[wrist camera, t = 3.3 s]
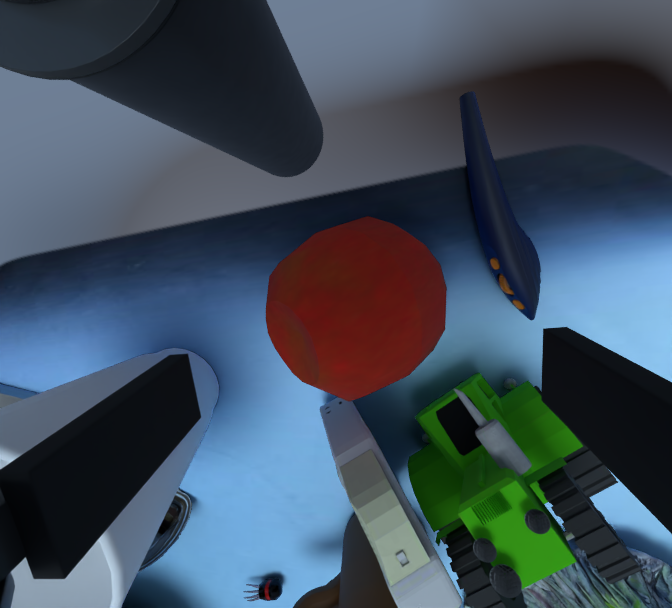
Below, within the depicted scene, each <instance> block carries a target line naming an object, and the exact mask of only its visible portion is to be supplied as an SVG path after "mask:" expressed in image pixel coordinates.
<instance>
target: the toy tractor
mask: <svg viewBox="0 0 672 608" xmlns="http://www.w3.org/2000/svg"><path fill="white" fill-rule="evenodd" d="M504 387H505V388H506V389H509V390H512V389H513V390H512V391H511V392H509V393H507V394H506V395H504V396H503V397H501V398H499V396H498V395H497V394H496V393H495V391H494V390H493V389H492V388H491V386H490V385H489V384H488V383H487V381H486V380H485V379H484V378H483V376H482V375H481V374H480V373H477V374H474V375H472V376H471V377H470V378H468V379H467V380H465V381H464V382H461V383H460V384H459V385H458V386H456V387H455V388H453V389H452V390H450V391H449V392H447V393H446V394H445V395H443V396H442V397H440V398H439V399H437V400H436V401H433V402H432V403H431V404H430V405H428V406H427V407H425V408H424V409H422V410H421V411H420V412H419V413H418V414H417V415H416V417H415V418H416V420H417V421H418V423H419V424H420V426H421V427H422V429H423V430H424V432H425V434H423V436H422V439H423V441H424V442H426V443H429V445H427V446H426V447H424V448H423V449H421V450H420V451H418V452H416V453H415V454H413V455H412V456H410V457H409V460H408V471H409V478H410V481H411V484H412V488H413V491H414V494H415V496H416V498H417V501H418V503H419V505H420V507H421V510H422V512H423V514H424V516H425V517H426V519H427V521H428V523H429V524H430V526H431V528H432V530H433V531H434V532H435V531H437V530H439V532H438V533H437V537H436V543H437V544H438V546H439V544H440V539H441V540H442V542H443V543H444V544H447V545H448V547H449V548H447V549H446V550H447V555H448V556H449V557H450V558H451V559H452V562H451V563H450V565H451V568H452V571H453V572H456V573H457V576H458V578H459V579H458V580H456V581H457V583H458V585H459V587H460V589H463V588H464V591H465V593H466V594H467V596H466V598H465V599H466V601H467V603H468V605H469V606H470V607H472V606H473V607H474V608H527V604H526V603H525V602H524V599H523V598H524V596H523V593H522V589H523V588H525V587H527V586H529V585H531V584H533V583H535V582H537V581H539V580H541V579H543V578H545V577H547V576H549V575H551V574H553V573H555V572H557V571H559V570H561V569H563V568H565V567H567V566H569V565H571V564H573V563H575V562H577V561H576V559H575V556H574V554H573V552H572V550H571V548H570V546H569V544H568V541H569V540H570V539H572V538H574V537H575V543H576V545H577V546H578V547H579V549H580V550H581V551H582V550H585V552H586V556H587V559H588V561H589V562H590V563H591V564H592V566H593V567H594V566H596V568H597V570H598V573H599V574H600V575H601V576H602V578H605V579H606V582H607V583H609V584H613V583H615V582H618V581H620V580H622V579H624V578H626V577H628V576H631V575H633V574H635V573H637V572H639V571H641V570H642V569H641V568H640V565H639V563H638V562H637V561H636V560H635V558H634V556H633V555H632V553H631V552H630V551H629V550H628V549H627V548H626V545H625V544H624V542H623V541H622V540H621V539H620V538H619V537H618V536H617V535H616V532H615V530H614V529H613V528H612V526H611V525H609V524H608V523H607V522H606V520H605V519H604V518H605V517H604V516H603V515H602V513H601V512H600V511H599V510H597V509H596V507H595V506H594V503H593V502H592V501H591V499H590V498H589V497H591V496H593V495H595V494H597V493H599V492H601V491H603V490H604V489H606V488H608V487H610V486H612V485H614V484H616V483H618V482H617V481H616V479H615V477H614V476H613V475H612V474H611V472H610V471H609V470H608V469H607V467H606V466H605V465H604V464H603V463H602V462H601V461H600V460H599V459H598V458H597V457H596V456H595V455H594V454H593V453H592V452H591V451H590V450H589V449H588V448H587V447H586V446H585V445H584V444H583V442H582V441H581V440H580V439H579V438H578V437H577V436H576V435H575V434H574V433H573V432H572V431H571V430H570V429H569V428H568V427H567V426H566V425H565V424H564V423H563V422H562V421H561V420H560V419H559V418H558V417H557V416H556V415H555V414H554V413H553V412H552V411H551V410H550V409H549V408H548V407H547V406H546V405H545V404H544V403H543V402H542V401H541V394H542V392H541V391H540V389H539V388H538V387H537V386H535V387H533V386H532V384H531V383H530V382H529V381H526V382H525V383H523V384H521V385H520V386H518V387H517V388H515V387H516V381H515V380H514V379H511V378H509V379H506V380H505V381H504ZM547 502H549V503H551V504H552V505H553V507H551V508H552V510H553V511H554V513H555V514H556V516H559V517H561V519H562V520H563V521H564V523H563V524H562V525H563V526H564V528H565V529H566V531H565V532H563V531H562V529H561V526H560V525H559V524H558V522H557V521H556V520H555V518H554V517H553V516H552V514H551V513H550V512H549V510H548V509H547V508H546V507H545V505H544V504H545V503H547Z"/></svg>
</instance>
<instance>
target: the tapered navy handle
mask: <svg viewBox="0 0 672 608" xmlns="http://www.w3.org/2000/svg"><path fill="white" fill-rule="evenodd" d="M460 109H461V118H462V128H463V139H464V147H465V155H466V164H467V171H468V178H469V184H470V191H471V197H472V202H473V208H474V213H475V217H476V222H477V226H478V231H479V235H480V238H481V242H482V245H483V249H484V252H485V255H486V258H487V261H488V264H489V266H490V269H491V271H492V273H493V275H494V277H495V279H496V281H497V283H498V285H499V286H500V288H501V289H502V291H503V292H504V294H505V295H506V296H507V298H508V299H509V300H510V301H511V302H512V303H513V305H514V306H515V307H516V308H517V309H518V310H519V311H521V312H522V313H523V314H524V315H525V316H526V317H527V318H528V319H530V320H534V318H535V314H536V310H537V305H538V300H539V293H540V283H541V280H540V272H541V269H540V262H539V258H538V254H537V251H536V249H535V247H534V245H533V243H532V241H531V240H530V238H529V237H528V236H527V235H526V234H525V233H524V231H523V230H522V229H521V228H520V226H519V225H518V223H517V221H516V219H515V217H514V215H513V212H512V210H511V208H510V205H509V203H508V200H507V197H506V195H505V192H504V189H503V186H502V183H501V180H500V178H499V175H498V172H497V169H496V165H495V162H494V159H493V156H492V153H491V149H490V146H489V143H488V140H487V136H486V133H485V129H484V125H483V122H482V118H481V114H480V111H479V107H478V103H477V99H476V95H475V92H468V93H465V94H464V95H462V96H461V97H460Z"/></svg>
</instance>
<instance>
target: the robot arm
mask: <svg viewBox="0 0 672 608" xmlns="http://www.w3.org/2000/svg"><path fill="white" fill-rule="evenodd" d="M3 1H7V2H12V3H17V4H41V3H46V2H51V1H54V0H3ZM541 401H542V402H543V403H544V404H545V405H546V406H547V407H548V408H549V409H550V410H551V411H552V412H553V413H554V414H555V415H556V416H557V417H558V418H559V419H560V420H561V421H562V422H563V423H564V424H565V425H566V426H567V427H568V428H569V429H570V430H571V431H572V432H573V433H574V434H575V435H576V436H577V437H578V438H579V439H580V440H581V441H582V442H583V444H584V445H585V446H586V447H587V448H588V449H589V450H590V451H591V452H592V453H593V454H594V455H595V456H596V457H597V458H598V459H599V460H600V461H601V462H602V463H603V464H604V465H605V466H606V467H607V468H608V469H609V470H610V471H611V472H612V473H613V474H614V475H615V476H616V477H617V478H618V479H619V480H620V481H621V482H622V483H623V484H624V485H625V486H626V487H627V488H628V489H629V490H630V492H631V493H632V494H633V495H634V496H635V497H636V498H637V499H638V500H639V501H640V502H641V503H642V504H643V505H644V506H645V507H646V508H647V509H648V510H649V511H650V512H651V513H652V514H653V515H654V516H655V517H656V518H657V519H658V520H659V521H660V522H661V523H662V524H663V525H664V526H665V527H666V528H667V529H668V530H669V531H670V532H671V533H672V382H670V381H668V380H666V379H664V378H662V377H660V376H659V375H657V374H655V373H653V372H651V371H649V370H647V369H645V368H643V367H641V366H640V365H638V364H636V363H634V362H632V361H630V360H628V359H626V358H624V357H622V356H621V355H619V354H617V353H615V352H613V351H611V350H609V349H607V348H605V347H603V346H602V345H600V344H598V343H596V342H594V341H592V340H590V339H588V338H586V337H584V336H583V335H581V334H579V333H577V332H575V331H573V330H571V329H569V328H567V327H561V328H547V329H543V360H542V394H541ZM200 418H201V413H200V409H199V404H198V399H197V394H196V389H195V385H194V380H193V375H192V370H191V365H190V361H189V356H188V354H175V355H169V356H167V357H166V358H164V359H163V360H161V361H160V362H158V363H157V364H155V365H154V366H152V367H151V368H149V369H148V370H146V371H145V372H143V373H142V374H141V375H139V376H138V377H136V378H135V379H133V380H132V381H130V382H129V383H127V384H126V385H124V386H123V387H121V388H120V389H118V390H117V391H115V392H114V393H112V394H111V395H109V396H108V397H107V398H105V399H104V400H102V401H101V402H99V403H98V404H96V405H95V406H93V407H92V408H90V409H89V410H87V411H86V412H84V413H83V414H81V415H80V416H78V417H77V418H76V419H74V420H73V421H71V422H70V423H68V424H67V425H65V426H64V427H62V428H61V429H59V430H58V431H56V432H55V433H53V434H52V435H50V436H49V437H47V438H46V439H45V440H43V441H42V442H40V443H39V444H37V445H36V446H34V447H33V448H31V449H30V450H28V451H27V452H25V453H24V454H22V455H21V456H19V457H18V458H16V459H15V460H13V461H12V462H11V463H9V464H8V465H6V466H5V467H3V468H2V469H0V608H11V604H12V599H13V594H14V590H15V583H14V579H13V576H12V574H11V571H12V570H13V569H14V568H15V567H16V566H17V565H18V564H19V563H20V562H21V561H22V560H23V559H24V558H25V557H26V559H27V562H28V565H29V568H30V570H31V573H32V576H33V578H34V579H65V578H66V577H67V576H68V575H69V574H70V572H71V571H72V570H73V569H74V568H75V566H76V565H77V564H78V563H79V562H80V561H81V559H82V558H83V557H84V556H85V555H86V553H87V552H88V551H89V550H90V549H91V548H92V546H93V545H94V544H95V543H96V542H97V540H98V539H99V538H100V537H101V536H102V534H103V533H104V532H105V531H106V530H107V529H108V527H109V526H110V525H111V524H112V523H113V521H114V520H115V519H116V518H117V517H118V515H119V514H120V513H121V512H122V511H123V510H124V508H125V507H126V506H127V505H128V504H129V502H130V501H131V500H132V499H133V498H134V497H135V495H136V494H137V493H138V492H139V491H140V489H141V488H142V487H143V486H144V485H145V483H146V482H147V481H148V480H149V479H150V478H151V476H152V475H153V474H154V473H155V472H156V470H157V469H158V468H159V467H160V466H161V464H162V463H163V462H164V461H165V460H166V459H167V457H168V456H169V455H170V454H171V453H172V451H173V450H174V449H175V448H176V447H177V446H178V444H179V443H180V442H181V441H182V440H183V438H184V437H185V436H186V435H187V434H188V432H189V431H190V430H191V429H192V428H193V427H194V425H195V424H196V423H197V422H198V421H199V419H200Z"/></svg>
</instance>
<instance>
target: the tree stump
mask: <svg viewBox="0 0 672 608" xmlns="http://www.w3.org/2000/svg"><path fill="white" fill-rule="evenodd" d="M568 544H569V546H570V548H571V550H572V552H573V554H574V556H575V559H576V561H577V562H575V563H573V564H571V565H569V566H567V567H565V568H563V569H561V570H559V571H557V572H555V573H553V574H551V575H549V576H547V577H545V578H543V579H541V580H539V581H537V582H535V583H533V584H531V585H529V586H527V587H525V588H523V589H522V593H523V596H524V598H523V599H524V602H525V603H526V604H527V608H672V567H671V566H670V565H668V564H667V563H664V562H663V561H662V560H660V559H658V558H655V557H652V556H650V555H648V554H646V553H644V552H641V551H638V550H635V549H632V548H628V547H626V548H627V549H628V550H629V551H630V552H631V553H632V555H633V556H634V558H635V560H636V561H637V562H638V563H639V565H640V568H641V569H642V570H641V571H639V572H637V573H635V574H633V575H631V576H628V577H626V578H624V579H622V580H620V581H618V582H615V583H613V584H609V583H607V582H606V579H605V578H602V576H601V575H600V574H599V573H598V570H597V568H596V566H594V567H593V566H592V564H591V563H590V562H589V561H588V559H587V556H586V552H585V550H582V551H581V550H580V549H579V547H578V546H577V545H576V543H575V537H574V538H572V539H570V540H569V541H568ZM466 596H467V594H466V593H465V594H464V608H474V607H473V606H472V607H470V606H469V605H468V603H467V601H466V599H465V598H466Z"/></svg>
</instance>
